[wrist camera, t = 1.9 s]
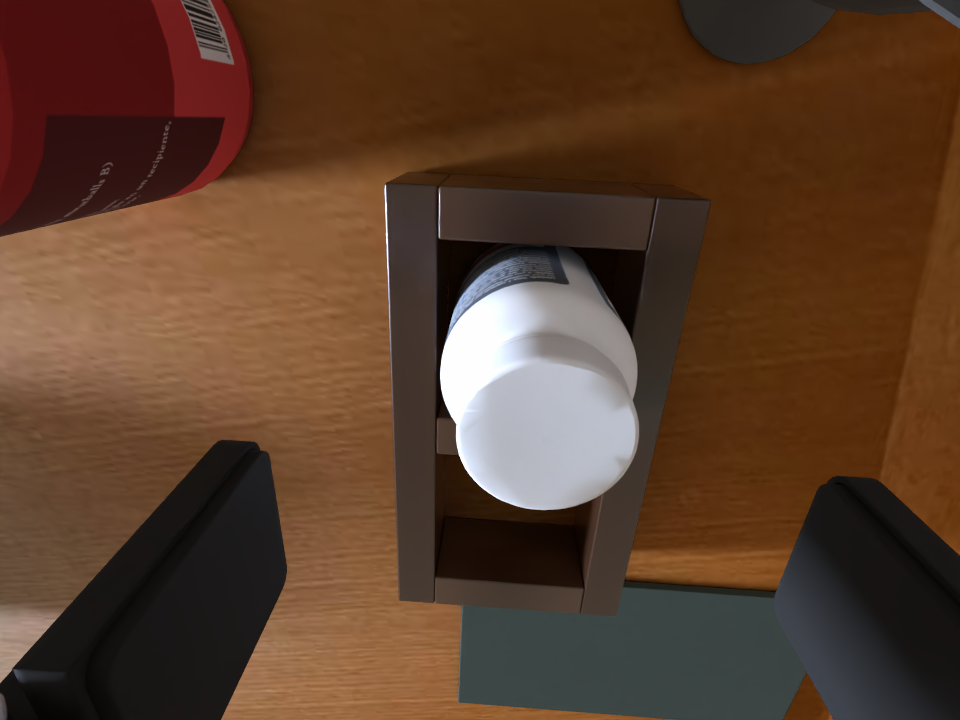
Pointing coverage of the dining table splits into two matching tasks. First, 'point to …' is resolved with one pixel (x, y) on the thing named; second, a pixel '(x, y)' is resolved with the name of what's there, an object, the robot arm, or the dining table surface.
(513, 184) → the holder
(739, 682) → the mat
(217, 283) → the dining table surface
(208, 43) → the canned food
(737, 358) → the dining table surface
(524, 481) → the pill bottle
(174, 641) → the robot arm
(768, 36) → the sundae
